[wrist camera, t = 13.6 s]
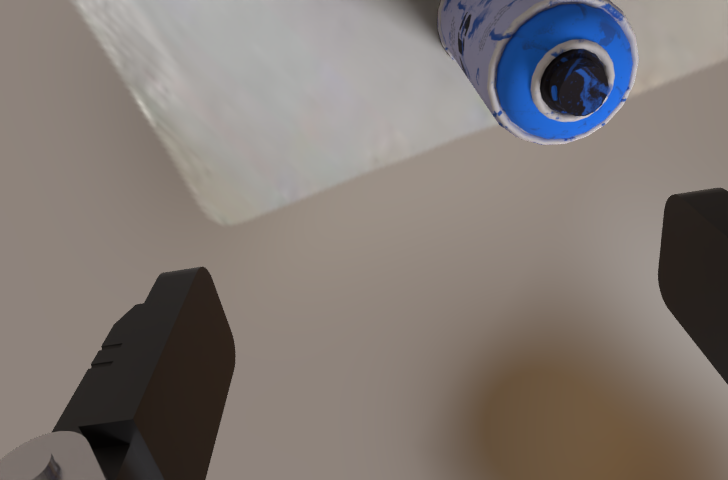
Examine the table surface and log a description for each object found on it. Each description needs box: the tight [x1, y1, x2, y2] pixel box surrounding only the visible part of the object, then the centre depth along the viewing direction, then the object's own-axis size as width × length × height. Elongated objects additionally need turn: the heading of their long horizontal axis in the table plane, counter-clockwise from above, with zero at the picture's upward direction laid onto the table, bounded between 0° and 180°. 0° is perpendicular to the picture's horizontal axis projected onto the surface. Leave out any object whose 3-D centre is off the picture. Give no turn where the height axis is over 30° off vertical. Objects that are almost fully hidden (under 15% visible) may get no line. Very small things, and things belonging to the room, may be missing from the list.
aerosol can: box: [437, 0, 639, 145], centre depth 34 cm, size 8×8×20 cm
